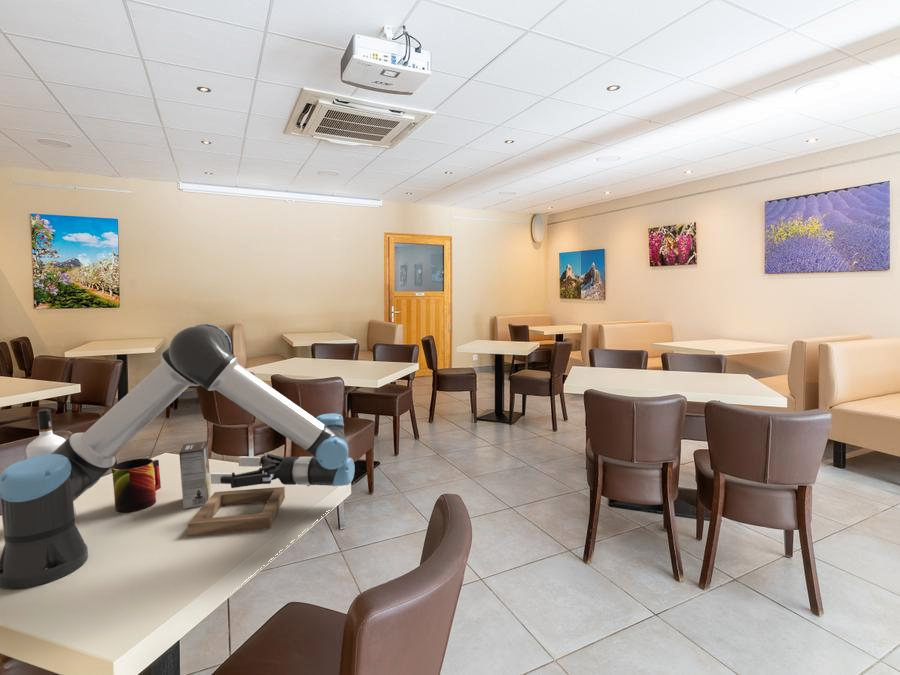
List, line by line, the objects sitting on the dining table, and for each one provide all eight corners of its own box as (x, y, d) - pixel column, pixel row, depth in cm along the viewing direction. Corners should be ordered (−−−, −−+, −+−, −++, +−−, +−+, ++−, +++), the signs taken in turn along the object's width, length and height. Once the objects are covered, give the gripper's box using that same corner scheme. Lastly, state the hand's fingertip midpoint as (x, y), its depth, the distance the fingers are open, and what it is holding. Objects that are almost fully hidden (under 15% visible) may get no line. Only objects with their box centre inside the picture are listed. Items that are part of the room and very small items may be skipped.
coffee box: (187, 497, 143) (183, 443, 142) (211, 493, 145) (207, 440, 144) (182, 509, 134) (178, 452, 133) (208, 505, 137) (204, 449, 135)
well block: (269, 528, 122) (269, 517, 121) (188, 535, 119) (187, 523, 119) (285, 496, 141) (284, 486, 141) (215, 502, 139) (215, 492, 138)
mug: (161, 491, 148) (158, 452, 147) (152, 509, 135) (149, 466, 134) (123, 496, 144) (120, 457, 143) (111, 515, 132) (107, 472, 131)
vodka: (49, 515, 133) (39, 406, 130) (84, 513, 133) (75, 405, 131) (21, 531, 123) (9, 414, 121) (59, 529, 124) (48, 413, 122)
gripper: (277, 502, 123) (199, 500, 126) (316, 468, 148) (250, 467, 151) (275, 473, 123) (197, 472, 125) (314, 444, 147) (248, 443, 150)
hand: (225, 469), depth 138 cm, fingers open, 13 cm apart
